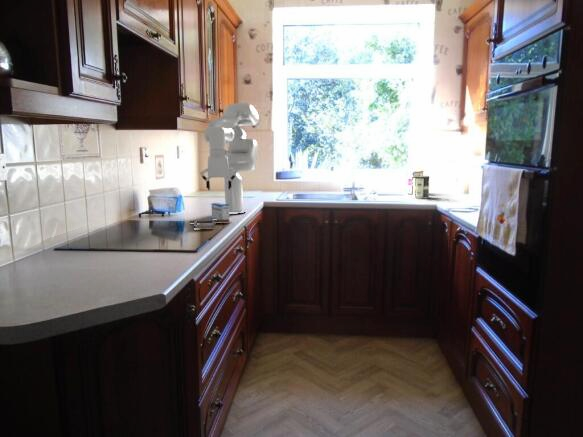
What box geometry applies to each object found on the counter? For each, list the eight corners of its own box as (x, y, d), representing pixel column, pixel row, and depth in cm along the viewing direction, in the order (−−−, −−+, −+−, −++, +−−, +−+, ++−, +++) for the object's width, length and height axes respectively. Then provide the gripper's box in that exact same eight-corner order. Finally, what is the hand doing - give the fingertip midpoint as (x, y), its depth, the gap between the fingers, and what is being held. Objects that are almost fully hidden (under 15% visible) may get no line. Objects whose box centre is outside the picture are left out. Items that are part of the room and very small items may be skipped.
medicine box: (211, 221, 218) (210, 203, 216) (218, 219, 221) (217, 202, 220) (223, 222, 213) (222, 204, 211) (229, 221, 216) (229, 203, 215)
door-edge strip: (190, 224, 208) (189, 220, 208) (229, 223, 211) (228, 219, 210) (189, 225, 207) (189, 220, 207) (229, 223, 210) (228, 219, 209)
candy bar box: (412, 194, 313) (413, 171, 310) (406, 194, 317) (407, 170, 314) (422, 193, 319) (423, 170, 317) (417, 192, 323) (417, 170, 321)
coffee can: (426, 196, 302) (426, 175, 300) (430, 198, 292) (431, 176, 289) (410, 196, 302) (411, 175, 300) (414, 198, 292) (415, 176, 290)
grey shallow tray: (195, 225, 207) (195, 220, 207) (214, 224, 208) (214, 220, 208) (193, 230, 194) (192, 226, 194) (214, 229, 196) (213, 225, 195)
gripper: (236, 153, 216) (237, 188, 219) (199, 153, 214) (201, 189, 216) (236, 153, 209) (237, 189, 211) (198, 153, 207) (200, 190, 209)
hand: (219, 189), depth 214 cm, fingers open, 9 cm apart
